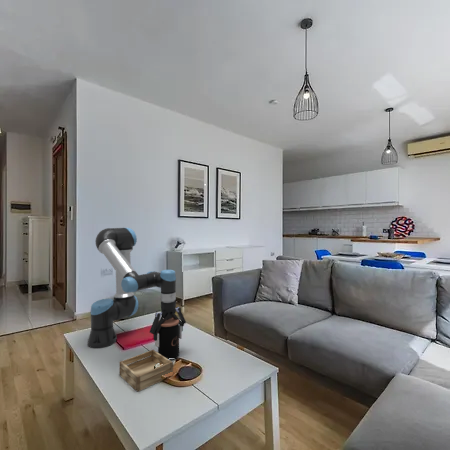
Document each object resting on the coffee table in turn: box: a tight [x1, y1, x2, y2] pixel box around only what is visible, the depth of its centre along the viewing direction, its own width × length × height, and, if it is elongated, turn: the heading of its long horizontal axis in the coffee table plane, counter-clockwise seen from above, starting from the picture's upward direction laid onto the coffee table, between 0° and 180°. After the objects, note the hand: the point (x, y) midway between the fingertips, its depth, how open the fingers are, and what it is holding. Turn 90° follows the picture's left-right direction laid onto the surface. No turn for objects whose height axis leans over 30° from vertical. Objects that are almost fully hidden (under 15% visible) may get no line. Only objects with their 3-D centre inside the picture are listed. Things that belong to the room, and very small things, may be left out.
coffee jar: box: [157, 318, 180, 359], centre depth 142 cm, size 11×11×18 cm
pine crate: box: [118, 349, 174, 392], centre depth 125 cm, size 17×17×6 cm
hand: (168, 342), depth 142 cm, fingers open, 13 cm apart
